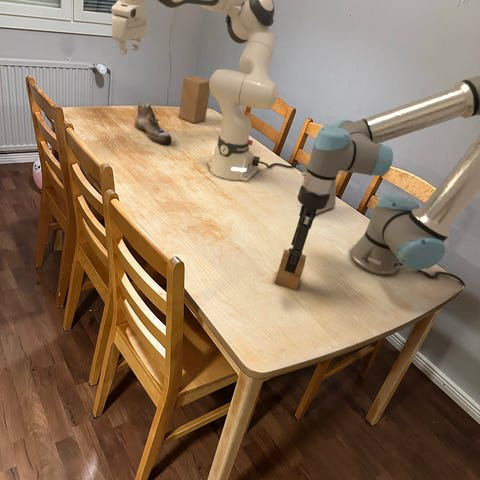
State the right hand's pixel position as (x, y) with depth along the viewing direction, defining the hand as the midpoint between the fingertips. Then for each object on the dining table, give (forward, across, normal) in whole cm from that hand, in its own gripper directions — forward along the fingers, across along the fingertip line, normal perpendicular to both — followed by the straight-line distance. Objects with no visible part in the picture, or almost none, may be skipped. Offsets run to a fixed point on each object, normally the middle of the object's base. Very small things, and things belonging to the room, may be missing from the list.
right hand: (292, 258), depth 120 cm
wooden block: (+9, -113, -66) cm, 131 cm away
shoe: (+9, -78, -73) cm, 107 cm away
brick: (+8, 0, 0) cm, 8 cm away
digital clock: (+8, -51, +5) cm, 52 cm away
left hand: (-29, -52, -75) cm, 96 cm away
